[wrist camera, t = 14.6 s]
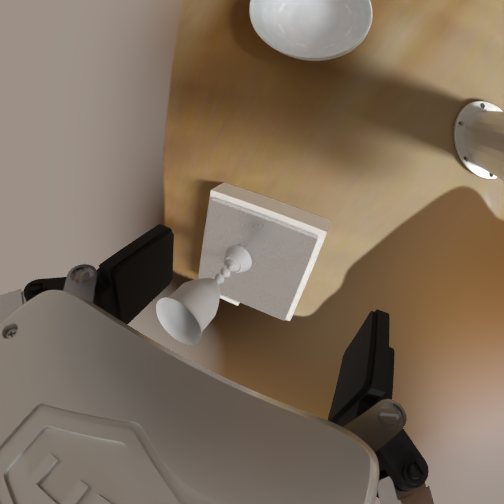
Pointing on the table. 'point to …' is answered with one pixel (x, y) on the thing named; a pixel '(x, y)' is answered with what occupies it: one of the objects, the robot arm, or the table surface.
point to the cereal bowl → (312, 26)
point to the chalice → (199, 299)
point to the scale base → (276, 212)
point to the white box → (257, 257)
